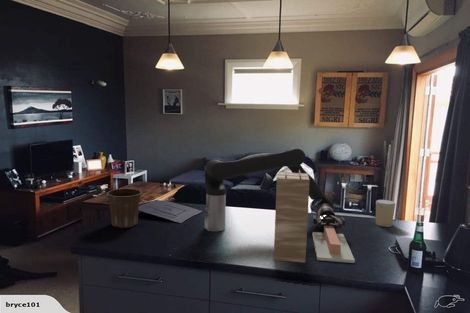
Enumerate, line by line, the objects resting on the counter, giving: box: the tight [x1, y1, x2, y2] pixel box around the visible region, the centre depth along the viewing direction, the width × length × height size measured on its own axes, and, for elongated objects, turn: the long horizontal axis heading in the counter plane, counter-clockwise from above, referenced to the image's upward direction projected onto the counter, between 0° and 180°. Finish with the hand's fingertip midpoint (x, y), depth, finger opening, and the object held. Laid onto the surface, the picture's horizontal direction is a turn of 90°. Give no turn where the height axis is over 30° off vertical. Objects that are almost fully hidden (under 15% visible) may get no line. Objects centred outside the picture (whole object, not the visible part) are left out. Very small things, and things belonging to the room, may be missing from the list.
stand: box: [273, 169, 310, 264], centre depth 145 cm, size 14×12×33 cm
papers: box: [139, 199, 203, 224], centre depth 199 cm, size 24×30×4 cm
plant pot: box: [106, 188, 143, 229], centre depth 178 cm, size 16×16×16 cm
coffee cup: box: [375, 199, 396, 228], centre depth 188 cm, size 9×9×12 cm
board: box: [311, 231, 356, 264], centre depth 155 cm, size 30×14×1 cm, turn 172°
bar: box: [323, 224, 341, 255], centre depth 156 cm, size 24×4×4 cm, turn 172°
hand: (330, 225), depth 161 cm, fingers open, 8 cm apart
